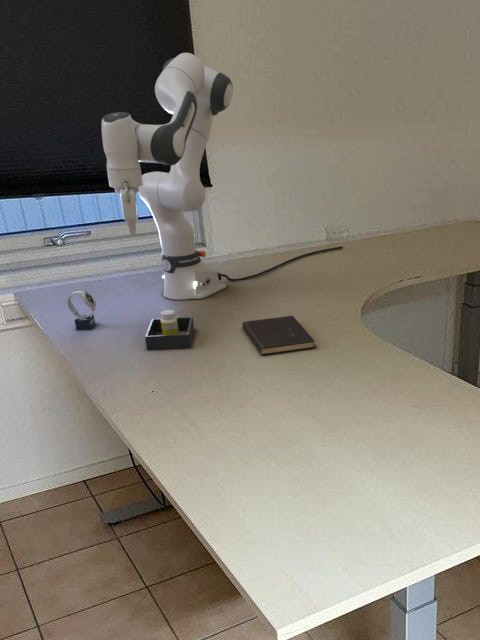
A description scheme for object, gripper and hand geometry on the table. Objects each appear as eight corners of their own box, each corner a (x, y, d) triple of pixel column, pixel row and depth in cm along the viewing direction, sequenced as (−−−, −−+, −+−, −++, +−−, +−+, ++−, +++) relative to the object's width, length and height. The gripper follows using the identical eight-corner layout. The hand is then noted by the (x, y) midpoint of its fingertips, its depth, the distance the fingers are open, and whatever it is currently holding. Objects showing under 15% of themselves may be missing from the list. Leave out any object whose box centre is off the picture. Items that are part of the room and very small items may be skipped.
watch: (97, 329, 228) (90, 294, 223) (70, 330, 228) (63, 294, 222) (101, 323, 233) (95, 288, 227) (75, 323, 233) (68, 289, 227)
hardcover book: (293, 322, 232) (292, 315, 231) (315, 348, 214) (314, 340, 213) (242, 329, 228) (241, 321, 227) (260, 356, 209) (260, 348, 208)
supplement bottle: (164, 336, 223) (160, 309, 218) (180, 336, 223) (176, 308, 219) (162, 342, 219) (158, 315, 214) (178, 342, 219) (174, 314, 214)
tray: (153, 331, 227) (151, 318, 225) (194, 329, 228) (192, 317, 226) (147, 350, 214) (145, 336, 212) (190, 348, 215) (188, 334, 213)
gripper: (138, 184, 196) (145, 238, 203) (136, 173, 213) (143, 223, 220) (113, 185, 194) (121, 240, 201) (113, 173, 211) (121, 224, 218)
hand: (133, 231), depth 211 cm, fingers open, 8 cm apart
